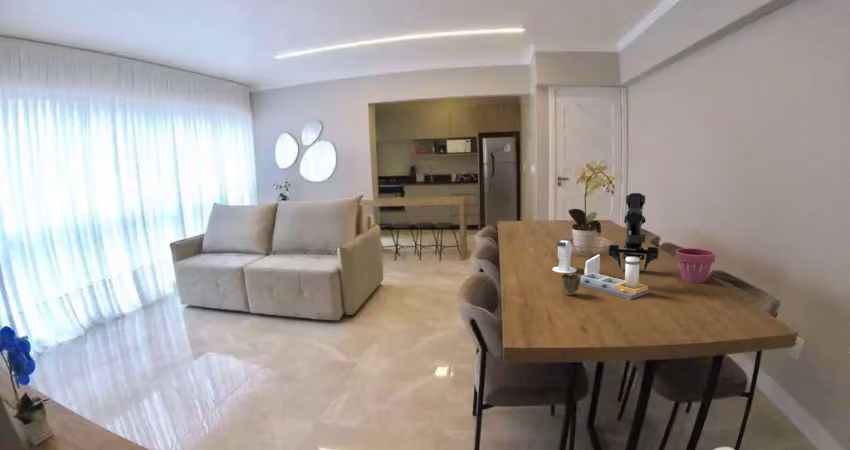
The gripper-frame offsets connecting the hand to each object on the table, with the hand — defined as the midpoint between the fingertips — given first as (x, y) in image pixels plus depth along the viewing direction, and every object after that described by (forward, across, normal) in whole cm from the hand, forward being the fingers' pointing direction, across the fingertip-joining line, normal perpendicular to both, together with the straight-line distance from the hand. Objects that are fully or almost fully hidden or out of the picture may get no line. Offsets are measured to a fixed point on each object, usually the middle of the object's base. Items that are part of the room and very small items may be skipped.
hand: (632, 268), depth 170 cm
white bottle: (+8, 0, +2) cm, 9 cm away
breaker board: (+7, -8, +5) cm, 12 cm away
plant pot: (-10, +24, +23) cm, 35 cm away
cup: (+17, -22, -5) cm, 28 cm away
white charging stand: (-9, -30, +22) cm, 38 cm away
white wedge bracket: (-5, -17, +18) cm, 25 cm away
